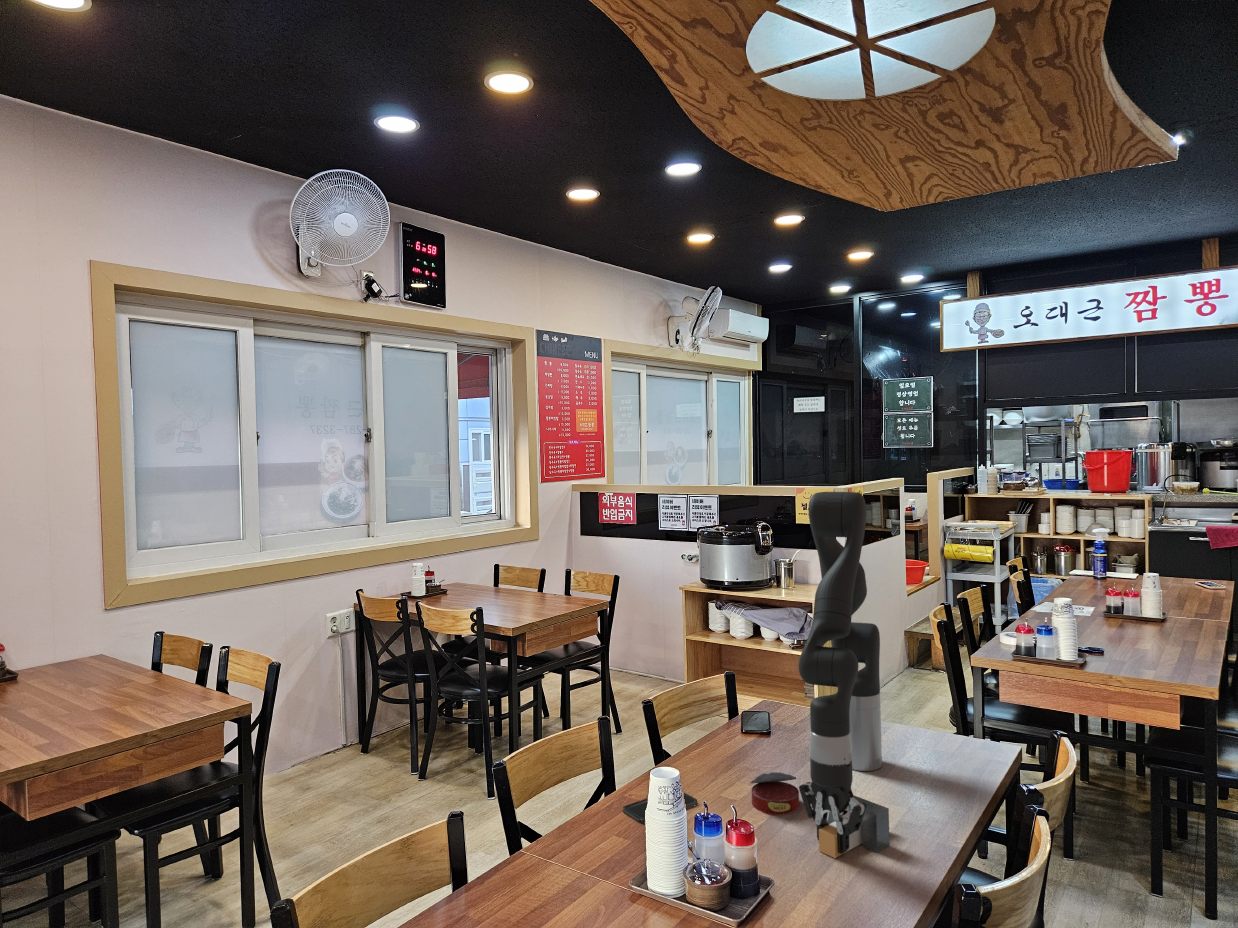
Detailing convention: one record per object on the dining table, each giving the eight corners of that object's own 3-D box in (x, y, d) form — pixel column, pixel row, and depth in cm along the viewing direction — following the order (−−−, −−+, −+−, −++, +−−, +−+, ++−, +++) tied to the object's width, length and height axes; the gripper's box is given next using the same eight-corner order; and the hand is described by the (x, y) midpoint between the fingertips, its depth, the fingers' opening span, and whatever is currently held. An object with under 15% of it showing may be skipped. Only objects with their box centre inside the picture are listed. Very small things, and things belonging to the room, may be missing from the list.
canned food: (754, 830, 164) (731, 785, 166) (775, 807, 172) (753, 764, 174) (797, 819, 158) (772, 772, 160) (817, 795, 166) (793, 751, 168)
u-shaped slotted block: (825, 830, 154) (824, 794, 154) (837, 823, 156) (836, 788, 156) (877, 852, 145) (876, 814, 145) (889, 845, 147) (888, 808, 147)
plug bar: (819, 850, 146) (818, 829, 146) (869, 823, 156) (868, 803, 156) (835, 858, 143) (834, 836, 143) (884, 829, 153) (884, 809, 153)
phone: (620, 807, 165) (676, 788, 173) (620, 812, 165) (676, 793, 173) (642, 821, 158) (699, 800, 167) (642, 826, 158) (700, 805, 167)
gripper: (787, 749, 149) (789, 840, 149) (851, 771, 138) (854, 869, 138) (812, 739, 153) (814, 827, 153) (876, 760, 142) (878, 855, 142)
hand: (833, 847), depth 146 cm, fingers closed on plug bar, 3 cm apart
